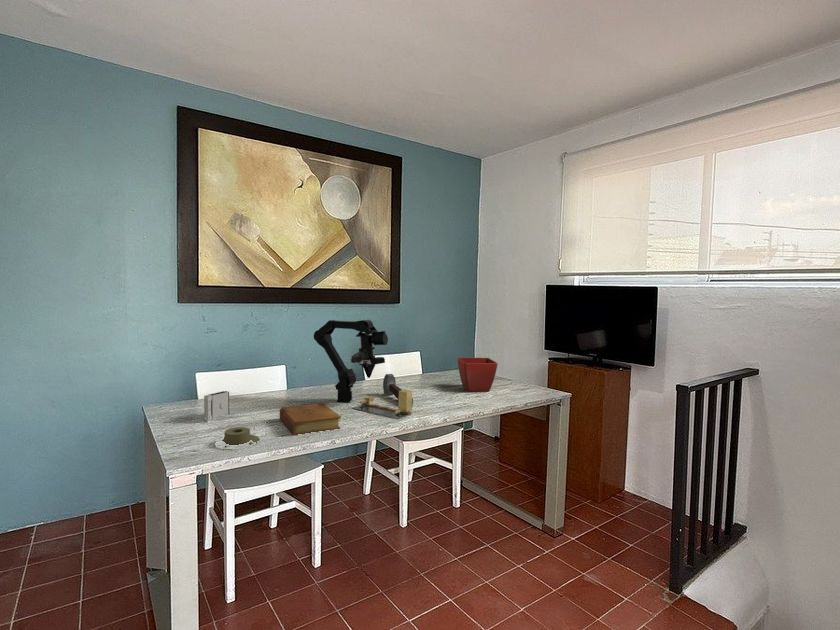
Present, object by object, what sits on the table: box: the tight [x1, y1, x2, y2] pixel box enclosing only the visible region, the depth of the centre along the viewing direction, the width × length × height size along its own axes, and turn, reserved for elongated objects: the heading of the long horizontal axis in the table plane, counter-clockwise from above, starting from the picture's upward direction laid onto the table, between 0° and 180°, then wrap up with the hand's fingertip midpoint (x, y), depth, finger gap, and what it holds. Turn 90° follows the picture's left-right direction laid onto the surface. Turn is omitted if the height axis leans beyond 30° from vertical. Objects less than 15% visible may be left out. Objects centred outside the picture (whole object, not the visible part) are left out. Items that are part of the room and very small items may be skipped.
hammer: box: [382, 373, 414, 407], centre depth 225 cm, size 5×11×30 cm
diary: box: [279, 402, 342, 436], centre depth 182 cm, size 23×19×6 cm
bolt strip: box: [352, 404, 409, 420], centre depth 203 cm, size 27×7×1 cm, turn 56°
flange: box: [223, 426, 261, 445], centre depth 159 cm, size 5×15×15 cm
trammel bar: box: [359, 395, 412, 416], centre depth 205 cm, size 27×8×4 cm, turn 56°
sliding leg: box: [395, 389, 413, 415], centre depth 198 cm, size 4×9×10 cm, turn 146°
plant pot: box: [457, 357, 499, 392], centre depth 254 cm, size 19×19×17 cm
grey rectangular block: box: [203, 390, 230, 421], centre depth 188 cm, size 14×5×10 cm, turn 164°
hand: (368, 377), depth 216 cm, fingers closed
